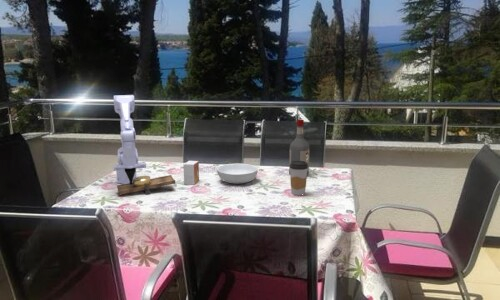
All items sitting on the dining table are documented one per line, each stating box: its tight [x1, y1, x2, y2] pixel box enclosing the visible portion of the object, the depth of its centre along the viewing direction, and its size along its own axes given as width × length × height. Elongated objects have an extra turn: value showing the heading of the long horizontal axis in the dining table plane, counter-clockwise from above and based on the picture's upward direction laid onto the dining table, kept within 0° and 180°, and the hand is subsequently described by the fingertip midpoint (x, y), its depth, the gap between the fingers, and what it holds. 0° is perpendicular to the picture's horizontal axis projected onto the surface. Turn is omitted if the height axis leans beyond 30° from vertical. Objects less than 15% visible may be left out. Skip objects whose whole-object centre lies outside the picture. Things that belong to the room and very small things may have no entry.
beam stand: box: [143, 185, 151, 196], centre depth 204 cm, size 2×12×4 cm, turn 20°
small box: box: [183, 160, 200, 186], centre depth 217 cm, size 8×6×10 cm
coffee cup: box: [289, 161, 308, 196], centre depth 199 cm, size 8×8×15 cm
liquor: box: [288, 119, 310, 175], centre depth 229 cm, size 9×9×30 cm
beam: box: [116, 174, 176, 195], centre depth 204 cm, size 26×10×2 cm, turn 110°
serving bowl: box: [216, 162, 259, 185], centre depth 220 cm, size 21×21×7 cm
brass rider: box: [133, 175, 151, 187], centre depth 203 cm, size 8×8×3 cm
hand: (131, 184), depth 202 cm, fingers closed
